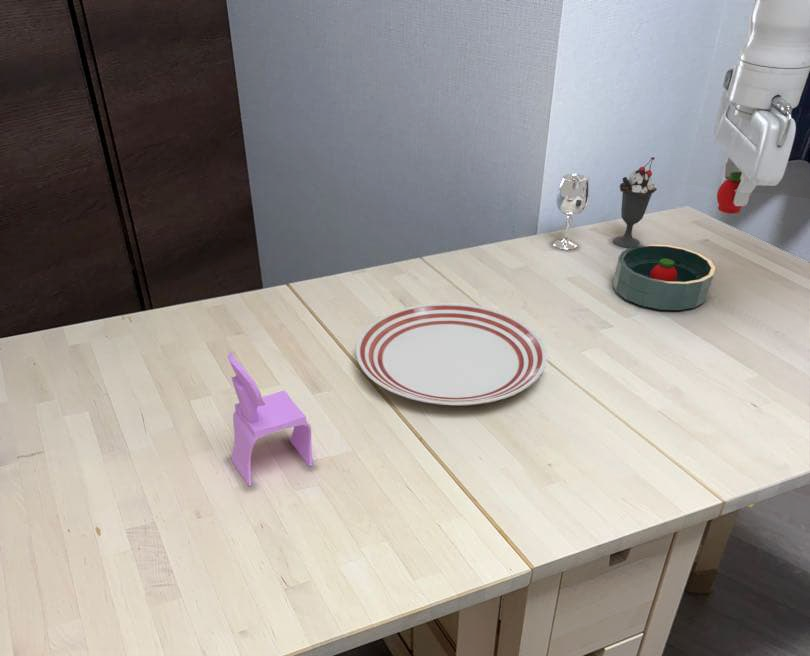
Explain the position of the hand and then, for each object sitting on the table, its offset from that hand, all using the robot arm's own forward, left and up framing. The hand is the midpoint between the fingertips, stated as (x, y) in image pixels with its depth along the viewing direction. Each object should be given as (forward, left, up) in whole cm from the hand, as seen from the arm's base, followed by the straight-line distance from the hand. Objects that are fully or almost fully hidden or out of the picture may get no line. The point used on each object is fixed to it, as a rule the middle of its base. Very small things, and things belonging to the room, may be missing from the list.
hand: (732, 197), depth 106 cm
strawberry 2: (0, 0, -2) cm, 2 cm away
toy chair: (+61, +40, -20) cm, 76 cm away
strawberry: (+3, -11, -19) cm, 22 cm away
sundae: (+5, -32, -20) cm, 38 cm away
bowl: (+3, -11, -19) cm, 22 cm away
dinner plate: (+39, +16, -20) cm, 47 cm away
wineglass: (+17, -30, -20) cm, 40 cm away
